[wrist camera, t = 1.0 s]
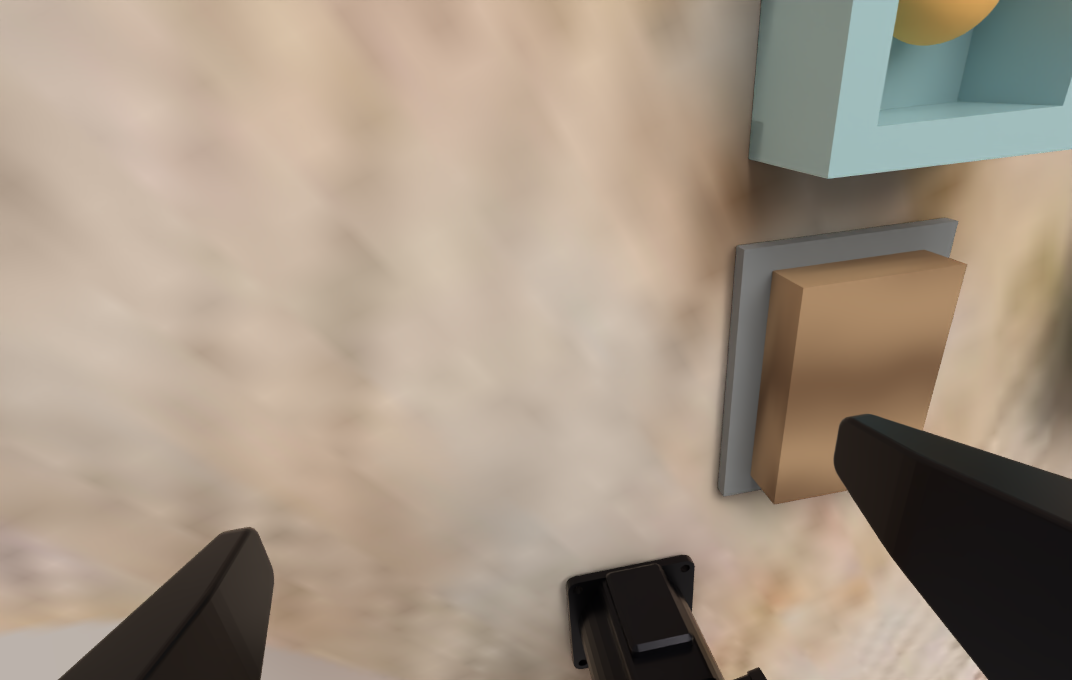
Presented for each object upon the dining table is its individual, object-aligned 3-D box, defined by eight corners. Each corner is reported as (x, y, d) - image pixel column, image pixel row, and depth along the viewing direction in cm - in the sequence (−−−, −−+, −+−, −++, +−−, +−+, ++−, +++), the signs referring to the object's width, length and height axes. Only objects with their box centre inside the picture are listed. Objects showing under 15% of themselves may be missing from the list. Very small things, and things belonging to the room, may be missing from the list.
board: (877, 451, 27) (909, 478, 25) (750, 475, 26) (774, 504, 24) (924, 249, 22) (967, 264, 20) (772, 270, 21) (803, 288, 20)
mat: (888, 456, 28) (897, 463, 27) (717, 488, 27) (723, 496, 26) (945, 217, 22) (958, 221, 22) (736, 245, 21) (744, 249, 21)
